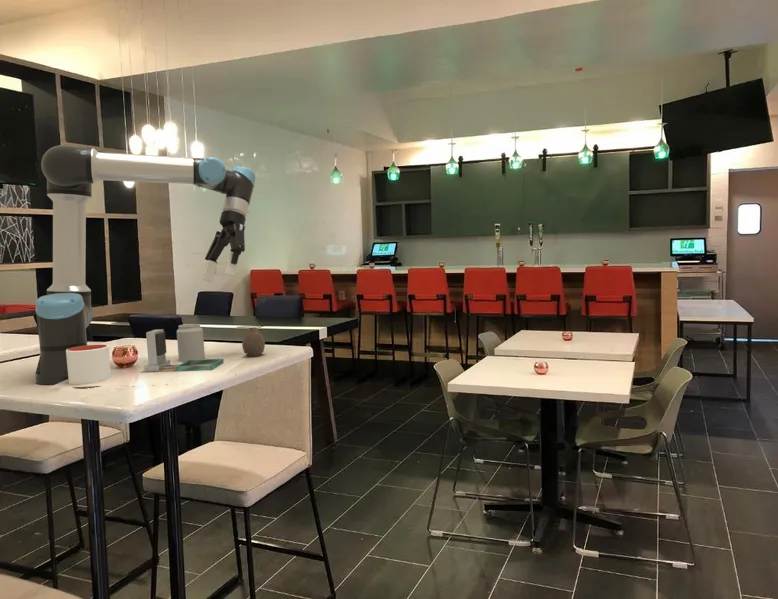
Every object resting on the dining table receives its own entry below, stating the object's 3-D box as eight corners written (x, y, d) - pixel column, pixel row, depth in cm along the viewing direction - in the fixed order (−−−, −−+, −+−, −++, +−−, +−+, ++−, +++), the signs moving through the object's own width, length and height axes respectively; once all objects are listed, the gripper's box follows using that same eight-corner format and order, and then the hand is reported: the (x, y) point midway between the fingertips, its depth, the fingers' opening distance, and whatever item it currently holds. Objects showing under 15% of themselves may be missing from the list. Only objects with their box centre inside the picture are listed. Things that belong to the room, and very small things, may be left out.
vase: (258, 357, 194) (257, 329, 193) (239, 357, 196) (237, 329, 195) (269, 353, 200) (267, 326, 200) (249, 353, 202) (248, 326, 202)
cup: (81, 391, 157) (77, 352, 156) (62, 387, 163) (58, 349, 162) (119, 383, 165) (115, 345, 164) (99, 379, 171) (96, 343, 170)
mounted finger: (144, 371, 171) (141, 333, 170) (156, 366, 179) (153, 329, 178) (159, 371, 171) (156, 332, 170) (170, 365, 179) (167, 328, 178)
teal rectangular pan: (140, 378, 170) (139, 368, 170) (155, 370, 180) (154, 361, 180) (212, 375, 169) (211, 365, 169) (223, 367, 179) (223, 358, 179)
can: (174, 365, 187) (171, 325, 186) (196, 361, 193) (193, 322, 192) (188, 367, 182) (184, 326, 181) (210, 363, 188) (207, 323, 187)
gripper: (265, 210, 189) (250, 276, 183) (224, 227, 207) (209, 287, 201) (244, 200, 185) (227, 267, 178) (204, 218, 203) (188, 279, 196)
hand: (218, 278), depth 190 cm, fingers open, 13 cm apart
